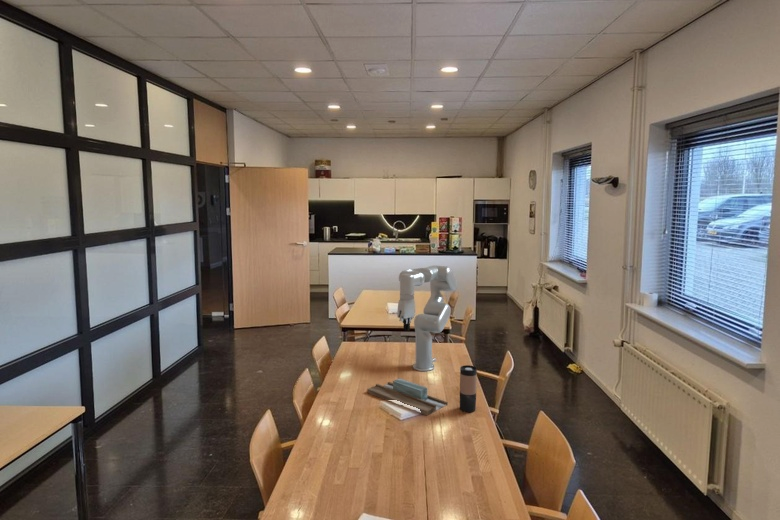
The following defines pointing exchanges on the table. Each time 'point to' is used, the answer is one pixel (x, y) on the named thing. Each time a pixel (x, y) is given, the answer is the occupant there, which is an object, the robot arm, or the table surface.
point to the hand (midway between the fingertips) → (406, 330)
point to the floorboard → (407, 398)
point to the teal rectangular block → (410, 389)
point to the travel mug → (468, 388)
